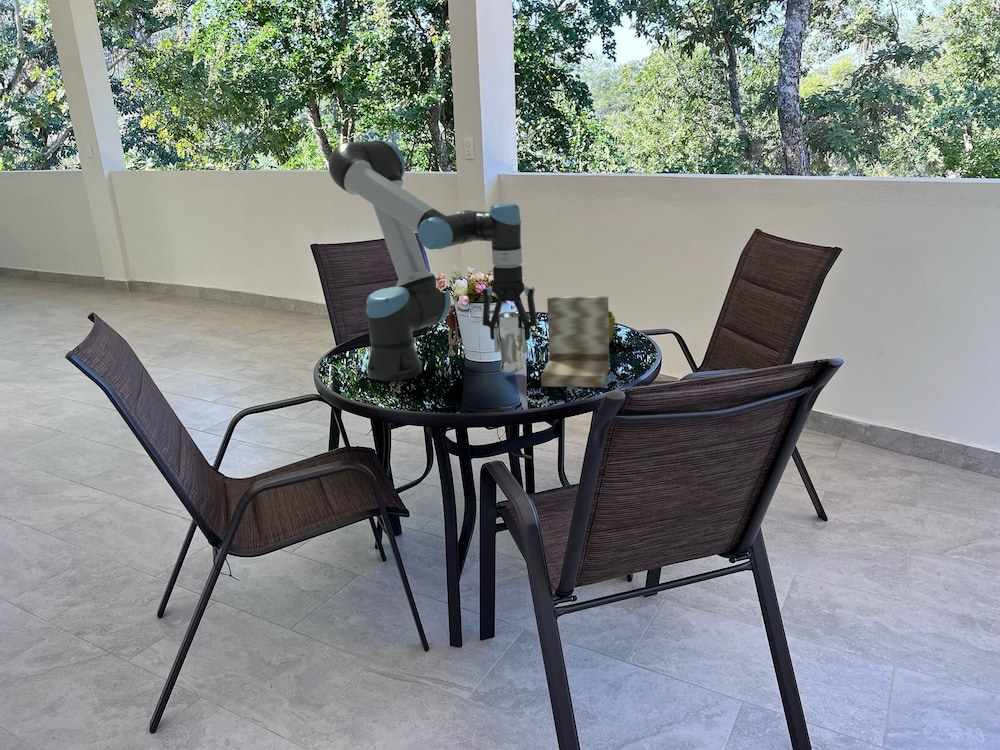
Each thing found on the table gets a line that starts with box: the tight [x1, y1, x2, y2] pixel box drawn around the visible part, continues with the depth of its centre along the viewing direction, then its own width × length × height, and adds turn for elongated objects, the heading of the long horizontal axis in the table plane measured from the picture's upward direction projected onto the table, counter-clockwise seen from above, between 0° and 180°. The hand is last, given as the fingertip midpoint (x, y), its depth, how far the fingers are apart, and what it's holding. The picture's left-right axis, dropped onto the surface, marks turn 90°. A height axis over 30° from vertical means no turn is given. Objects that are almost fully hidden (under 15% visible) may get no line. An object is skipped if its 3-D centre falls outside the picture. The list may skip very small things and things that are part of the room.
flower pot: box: [609, 310, 616, 344], centre depth 230 cm, size 9×9×9 cm
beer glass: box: [496, 311, 524, 373], centre depth 202 cm, size 7×7×15 cm
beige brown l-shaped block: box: [540, 295, 610, 388], centre depth 198 cm, size 16×16×20 cm
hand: (510, 351), depth 203 cm, fingers closed on beer glass, 7 cm apart
